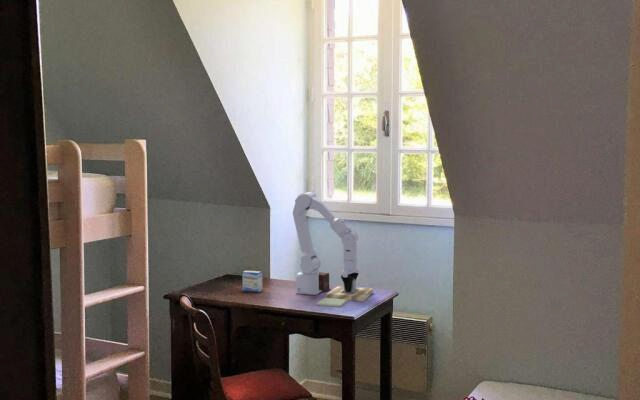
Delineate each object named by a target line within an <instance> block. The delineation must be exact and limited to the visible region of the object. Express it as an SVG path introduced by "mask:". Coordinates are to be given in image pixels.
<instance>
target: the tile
mask: <svg viewBox="0 0 640 400" xmlns="http://www.w3.org/2000/svg"><path fill="white" fill-rule="evenodd" d="M348 302H349V300H348V299H335V298H326V297H324V298H322V299H321V300H320V301H318V302H317V303H316V306H322V307H323V306H324V307H336V308H341V307H343V305H345V304H346V303H348Z"/></svg>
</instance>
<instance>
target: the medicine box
mask: <svg viewBox="0 0 640 400" xmlns="http://www.w3.org/2000/svg"><path fill="white" fill-rule="evenodd" d="M242 291H243V292H251V293H253V292H254V293H259V292H261V291H263V271H258V270H244V271H242Z"/></svg>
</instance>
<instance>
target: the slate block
mask: <svg viewBox="0 0 640 400" xmlns="http://www.w3.org/2000/svg"><path fill="white" fill-rule="evenodd" d="M356 282H357V279H353V282H352V289H351V292H346V290H345V286H344V285H343V286H344V293H347V294H354V293H355V292H356V287H357V286H356V284H357V283H356Z"/></svg>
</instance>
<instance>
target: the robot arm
mask: <svg viewBox="0 0 640 400" xmlns="http://www.w3.org/2000/svg"><path fill="white" fill-rule="evenodd" d="M309 210H315V211H317V212H319V214H321V216H322V217H323V218H325V219H326V221H328V222H329V224H330V225H329V227H330V228H331V230H332V231H333V232H334V233H335V234H336V235H337V236H338V238H340V239H341V243H342V244H343V247H342V248H343V250H342V256H343V257H342V258H343V259H342V261H343V262H342V274H341V275H340V278H341V280H342V282H343V286H345V290H346V292H351V289H352V282H353V279H356V280H357V278H358V276H359V275H360V273H359V272H360V269H357V268H358V267H357V265H358V264H357V262H358V261H357V256H358V255H357V254H358V253H357V252H358V251H357V249H358V248H357V243H358V241H359V235H358V233H357V232H356V231H355V230H353V229H352V228H351V227H349V226H348V225H347V224H346V222H345V220H344V219H341V217H336V216H335V215H334V213H333V212H332V211H331V210H330V209H329V208H328V207H327V205H326V204H325V203H324V202H323V200H322V199H321V198H320V197H319V196H318V195H317V194H316V193H315V192H313V191H307V192H304V193H299V195H298V196H297V197H296V198H295V200H294V207H293V210H292V216H293V217H292V218H293V220H294V225H295V230H296V234H297V239H298V243H299V247H300V252H301V254H300V257H299V260H300V264H299V267H300V270H301V271H299V272H298V273H297V274H296V279H295V280H296V283H295V284H296V285H295V286H296V291H295V294H299V295H311V296H312V295H313V296H317V295H318V294H319V293H321V292H323V291H322V290H319V272H320V271H319V268H320V267H321V260H320V258H319V257H318V254H317V252H316V251H315V250H314V247H313V243H312V238H311V234H310V228H309V225H308V220H307V216H306V214H307V213H308V212H309Z"/></svg>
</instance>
